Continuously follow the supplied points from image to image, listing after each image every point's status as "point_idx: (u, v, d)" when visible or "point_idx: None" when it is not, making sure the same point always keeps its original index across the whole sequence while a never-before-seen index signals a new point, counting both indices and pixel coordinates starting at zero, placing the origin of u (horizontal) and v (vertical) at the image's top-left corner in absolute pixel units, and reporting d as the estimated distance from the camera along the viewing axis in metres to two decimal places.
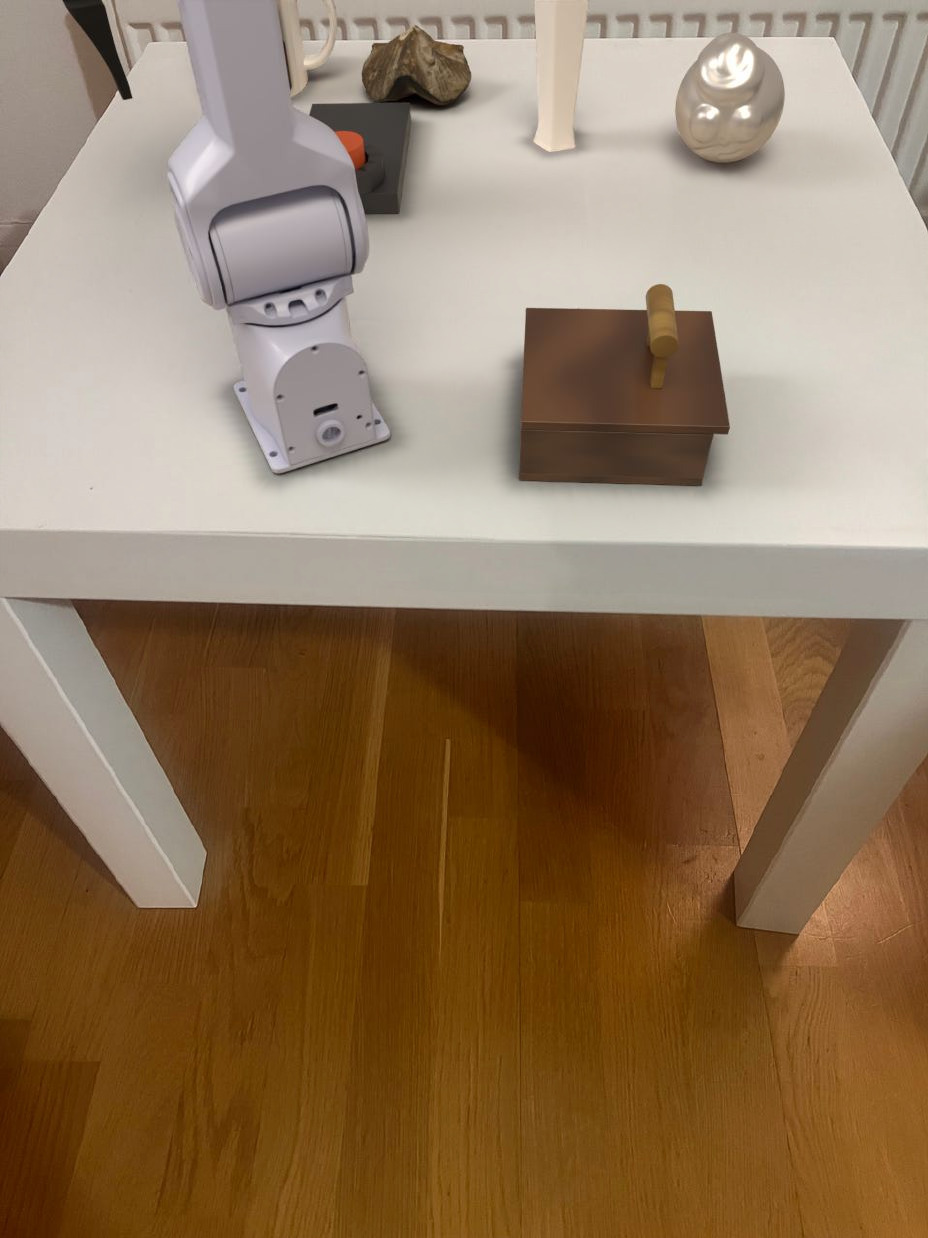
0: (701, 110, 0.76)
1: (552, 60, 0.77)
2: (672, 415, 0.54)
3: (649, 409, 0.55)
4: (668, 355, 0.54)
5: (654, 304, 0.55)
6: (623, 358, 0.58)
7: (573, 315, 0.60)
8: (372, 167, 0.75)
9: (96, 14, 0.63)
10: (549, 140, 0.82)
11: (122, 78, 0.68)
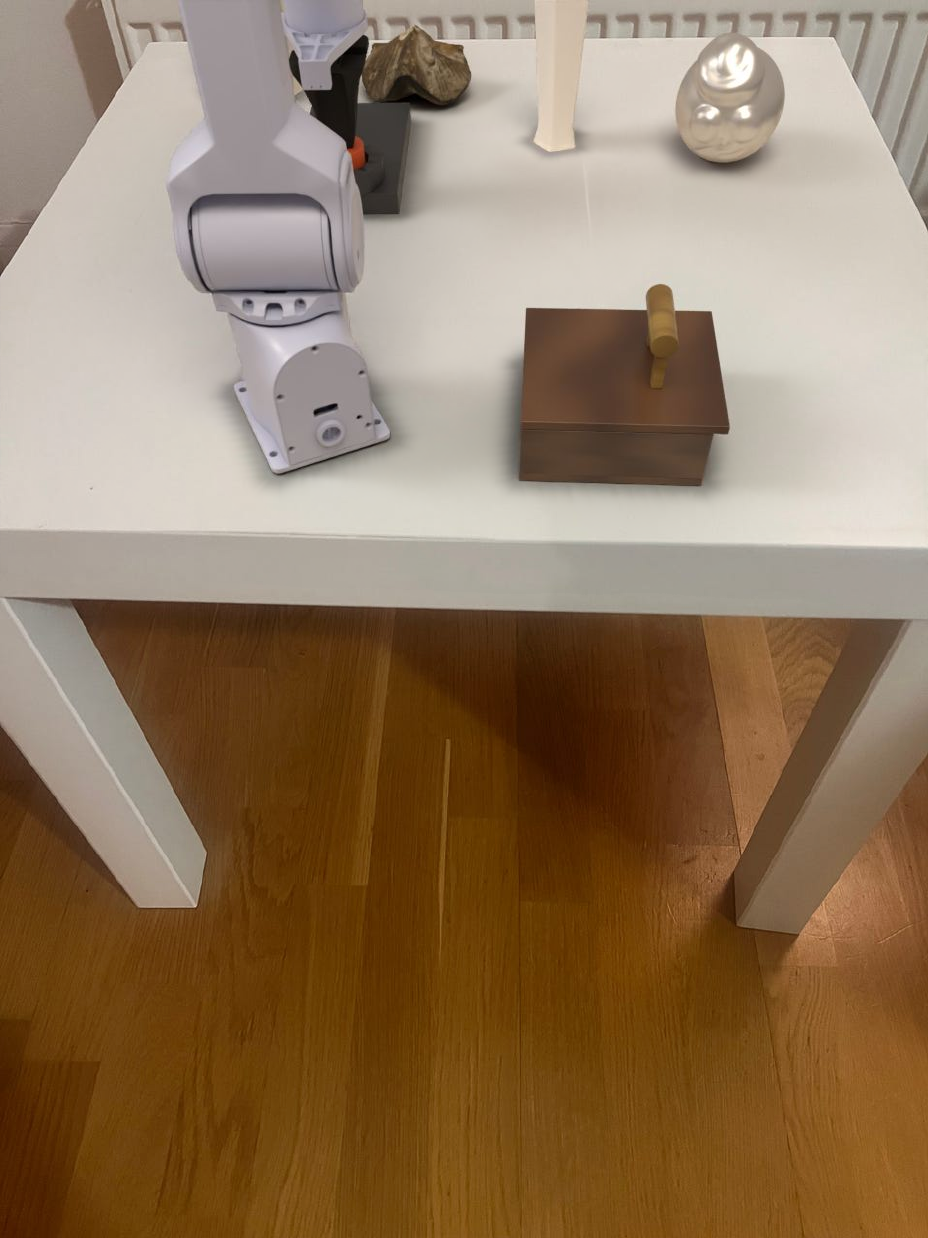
0: (701, 110, 0.76)
1: (552, 60, 0.77)
2: (672, 415, 0.54)
3: (649, 409, 0.55)
4: (668, 355, 0.54)
5: (654, 304, 0.55)
6: (623, 358, 0.58)
7: (573, 315, 0.60)
8: (372, 167, 0.75)
9: None
10: (549, 140, 0.82)
11: (355, 126, 0.74)
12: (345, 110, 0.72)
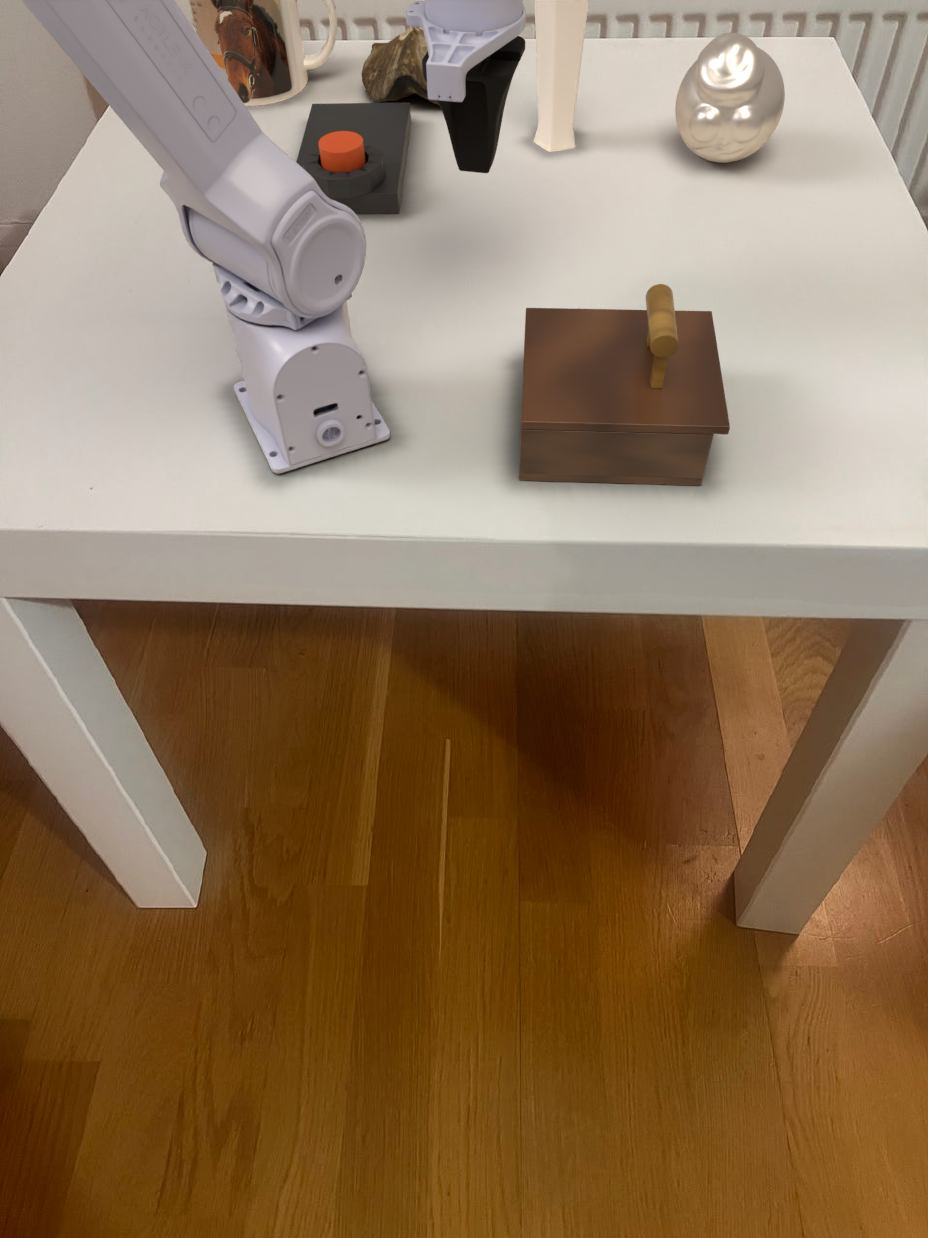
0: (701, 110, 0.76)
1: (552, 60, 0.77)
2: (672, 415, 0.54)
3: (649, 409, 0.55)
4: (668, 355, 0.54)
5: (654, 304, 0.55)
6: (623, 358, 0.58)
7: (573, 315, 0.60)
8: (372, 167, 0.75)
9: None
10: (549, 140, 0.82)
11: (495, 147, 0.60)
12: (484, 127, 0.59)
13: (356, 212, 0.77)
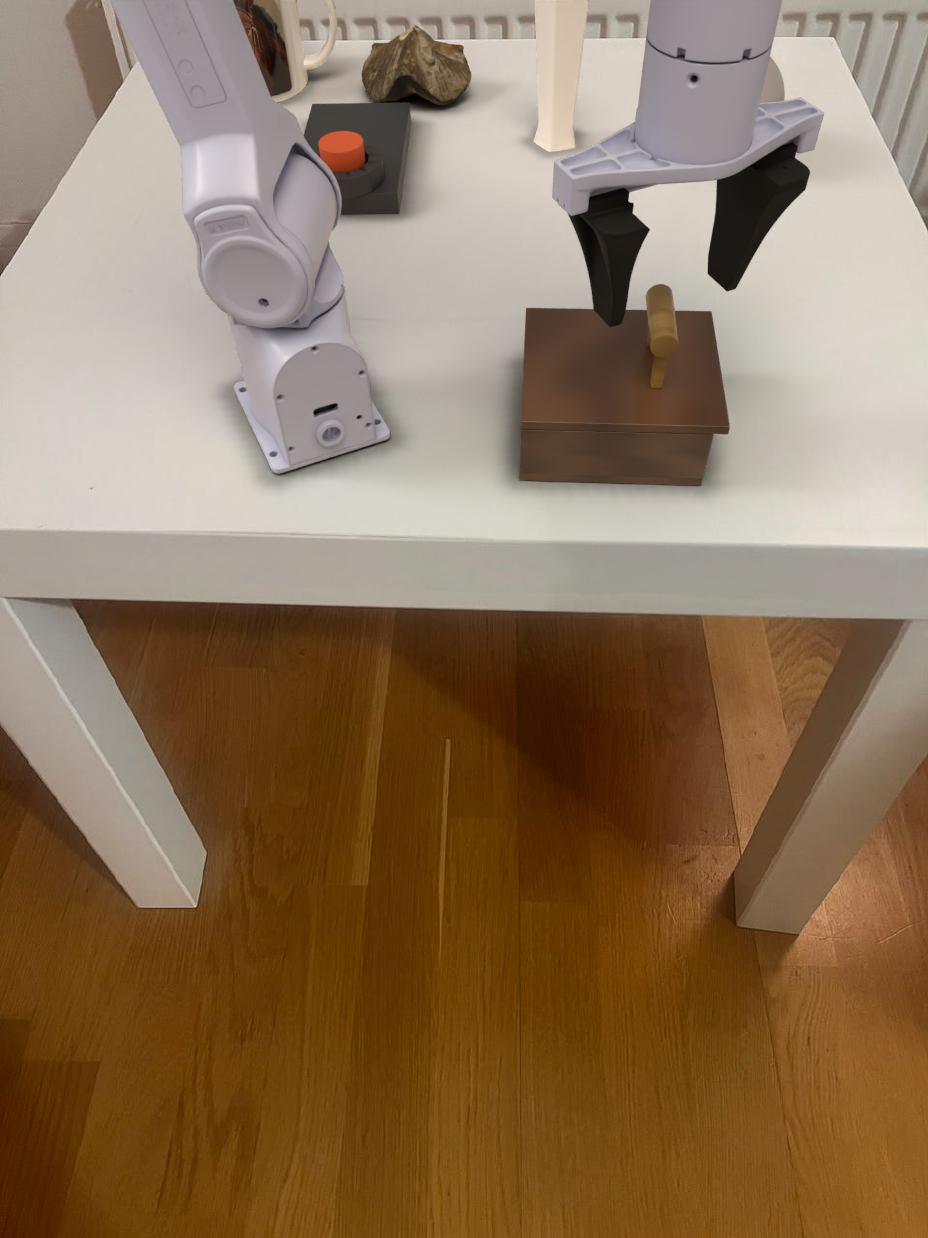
0: None
1: (552, 60, 0.77)
2: (672, 415, 0.54)
3: (649, 409, 0.55)
4: (668, 355, 0.54)
5: (654, 304, 0.55)
6: (623, 358, 0.58)
7: (573, 315, 0.60)
8: (372, 167, 0.75)
9: (634, 239, 0.46)
10: (549, 140, 0.82)
11: (622, 304, 0.51)
12: None
13: (356, 212, 0.77)
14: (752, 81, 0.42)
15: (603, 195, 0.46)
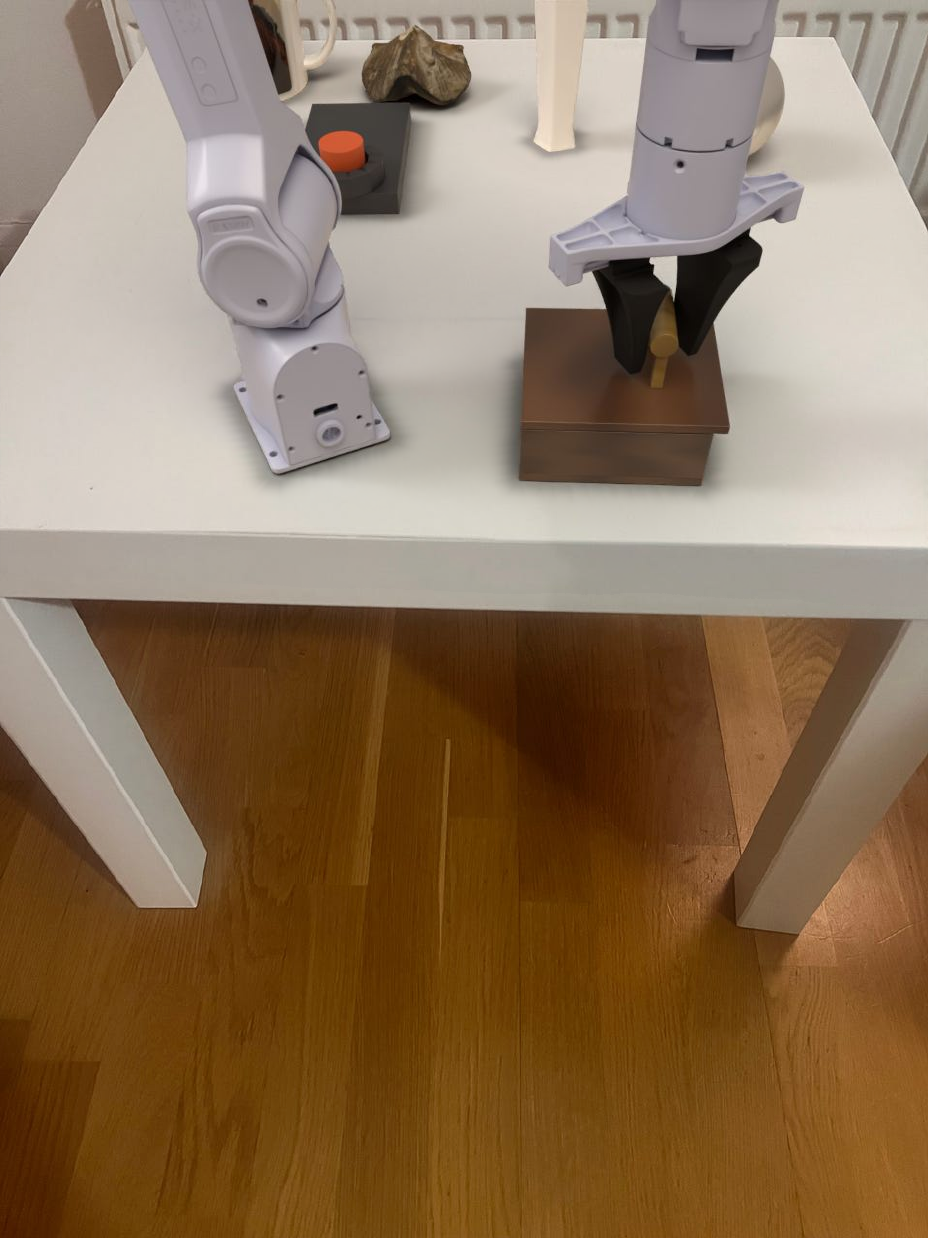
0: None
1: (552, 60, 0.77)
2: (672, 415, 0.54)
3: (649, 409, 0.55)
4: (668, 355, 0.54)
5: None
6: None
7: (573, 315, 0.60)
8: (372, 167, 0.75)
9: (655, 298, 0.50)
10: (549, 140, 0.82)
11: (642, 355, 0.54)
12: None
13: (356, 212, 0.77)
14: (734, 166, 0.45)
15: None
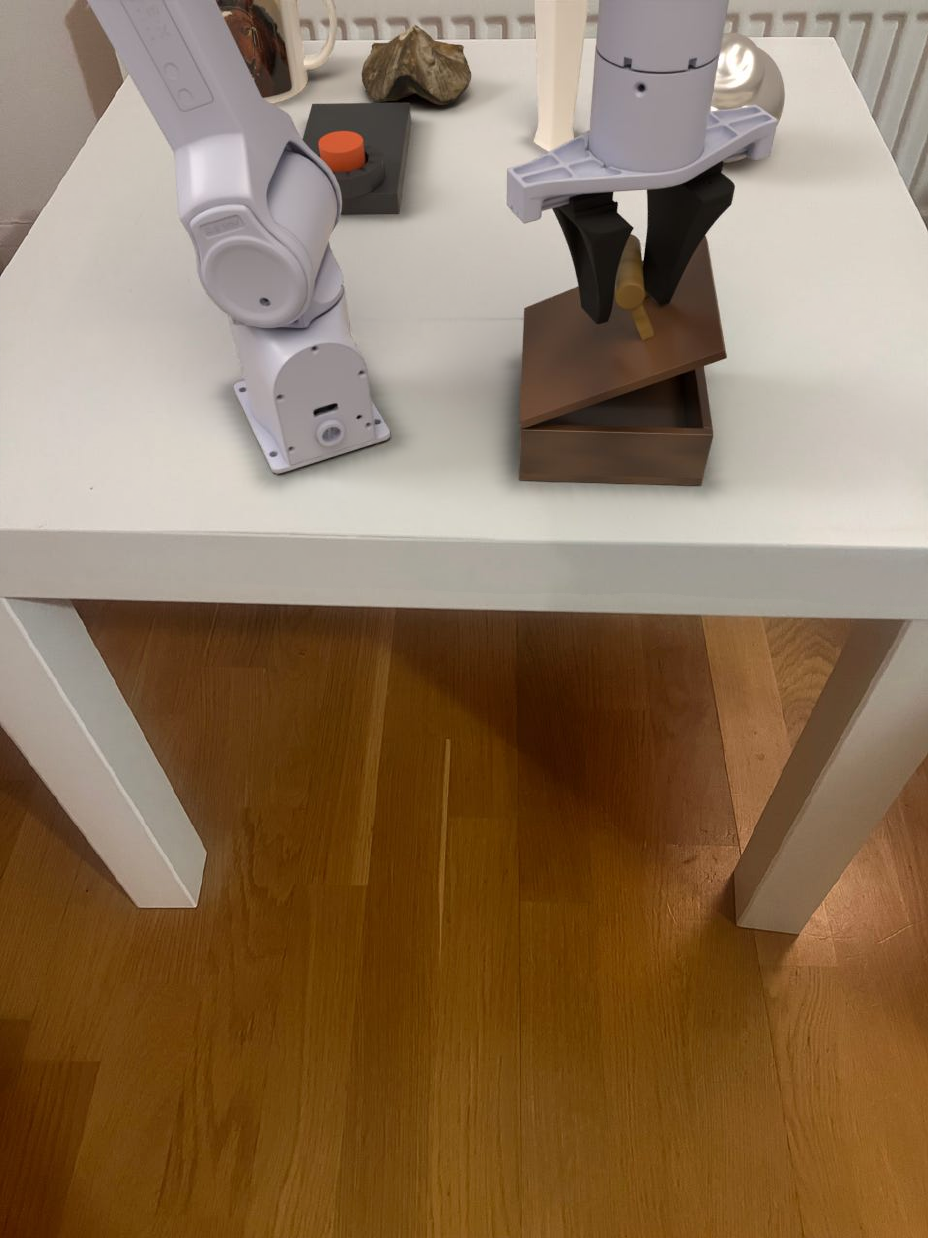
0: None
1: (552, 60, 0.77)
2: (664, 360, 0.51)
3: (640, 363, 0.52)
4: (639, 303, 0.51)
5: None
6: (615, 320, 0.56)
7: (568, 297, 0.59)
8: (372, 167, 0.75)
9: (618, 237, 0.47)
10: (549, 140, 0.82)
11: (608, 302, 0.52)
12: None
13: (356, 212, 0.77)
14: (699, 90, 0.43)
15: (587, 194, 0.47)
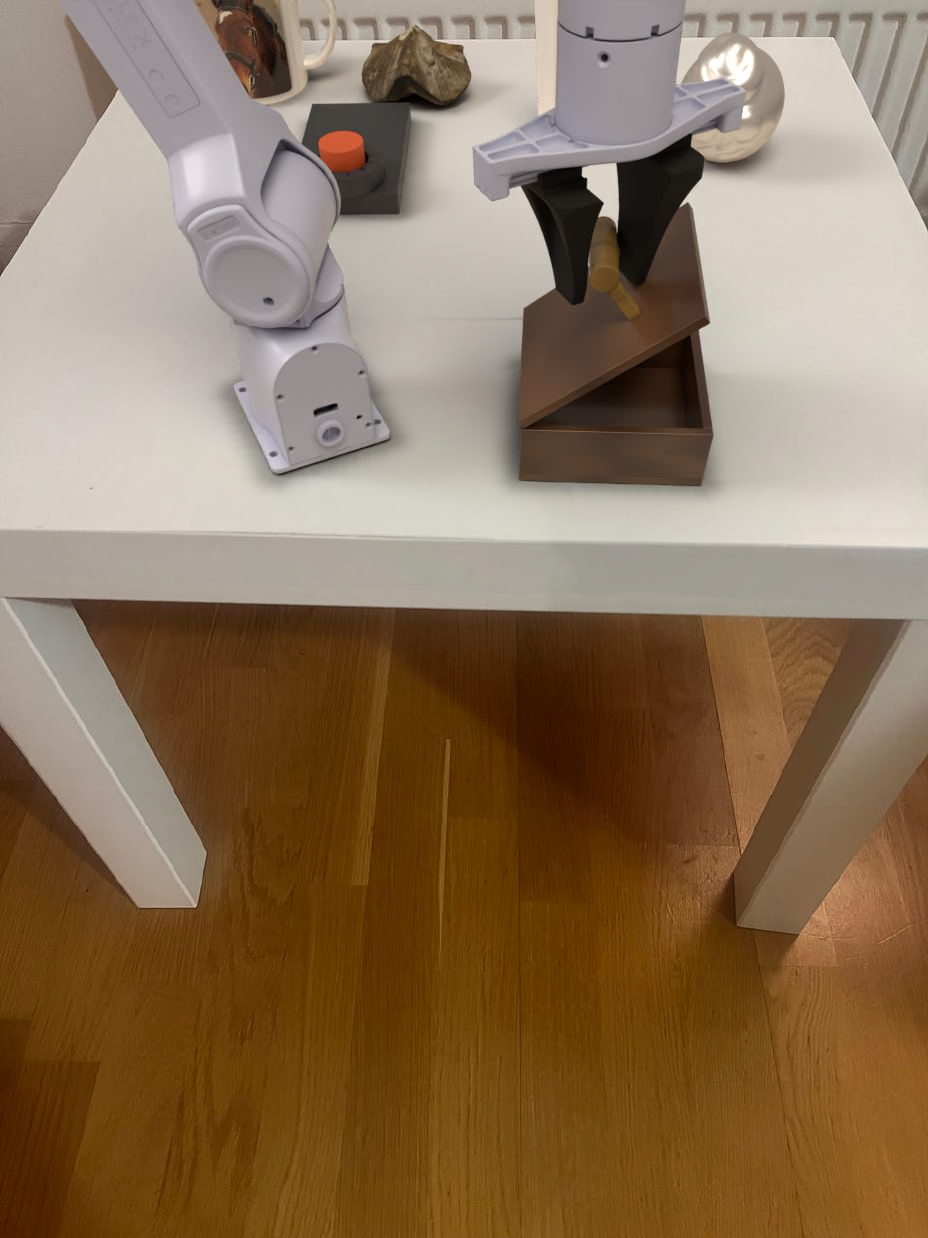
0: None
1: (552, 60, 0.77)
2: (649, 337, 0.50)
3: (627, 344, 0.51)
4: (615, 284, 0.50)
5: None
6: (604, 305, 0.55)
7: None
8: (372, 167, 0.75)
9: (588, 213, 0.46)
10: None
11: (582, 282, 0.51)
12: None
13: (356, 212, 0.77)
14: (663, 59, 0.42)
15: (556, 170, 0.46)
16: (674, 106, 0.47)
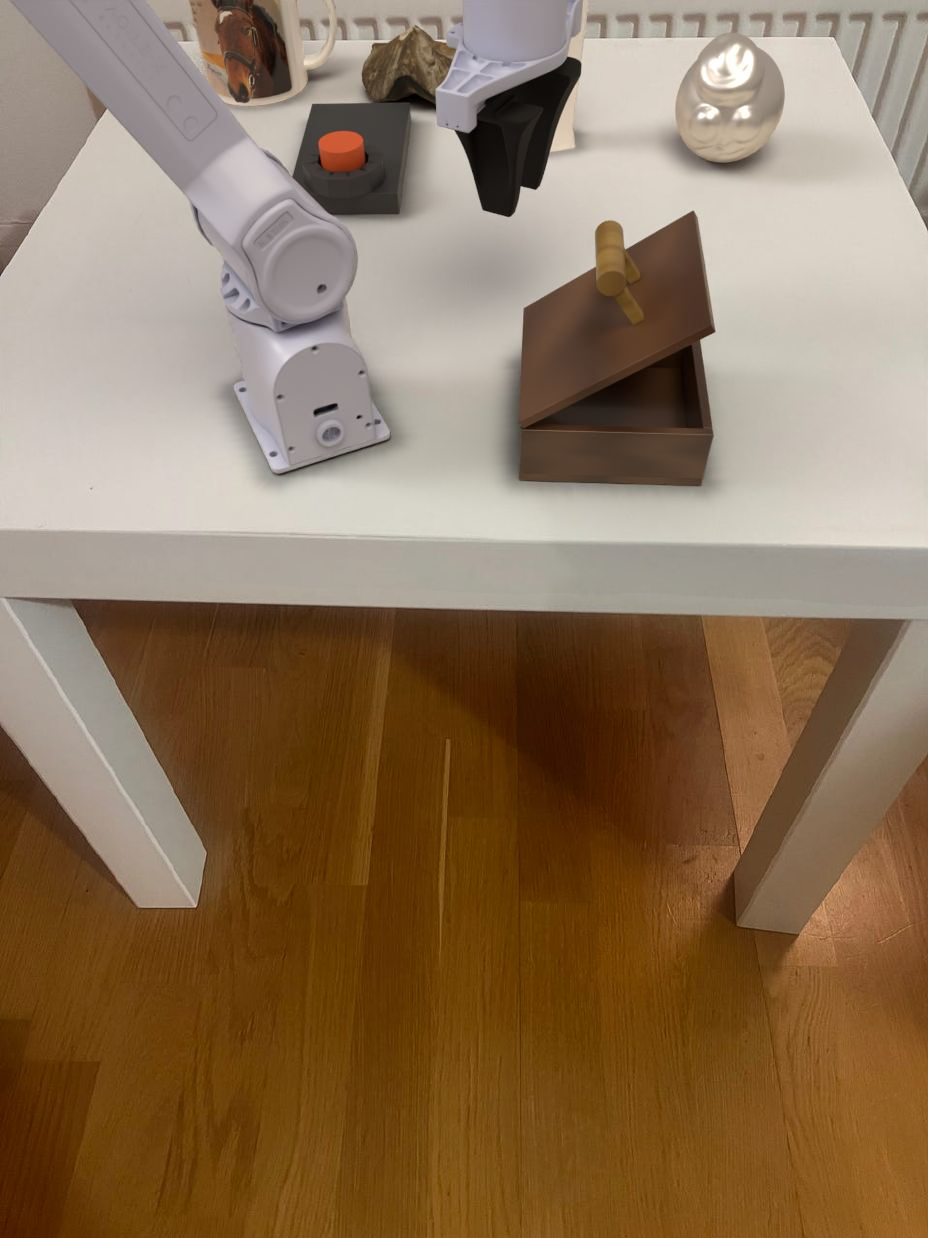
0: (701, 110, 0.76)
1: None
2: (653, 342, 0.51)
3: (631, 348, 0.51)
4: (622, 288, 0.51)
5: (597, 246, 0.52)
6: (608, 308, 0.55)
7: (563, 291, 0.59)
8: (372, 167, 0.75)
9: (533, 122, 0.53)
10: None
11: (518, 191, 0.57)
12: (506, 170, 0.56)
13: (356, 212, 0.77)
14: None
15: (497, 93, 0.52)
16: None
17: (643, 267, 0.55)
